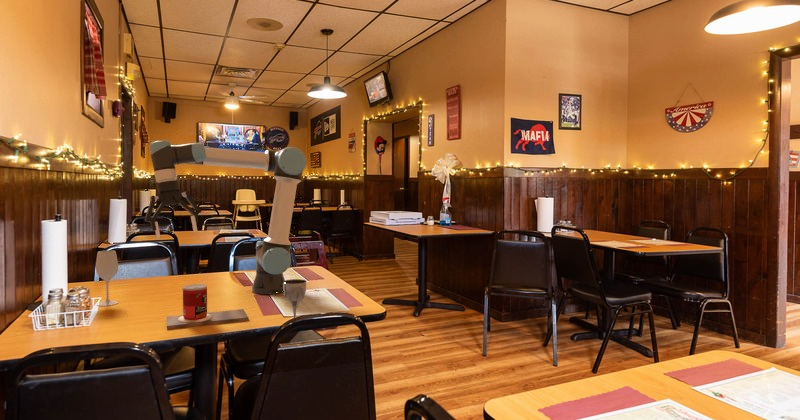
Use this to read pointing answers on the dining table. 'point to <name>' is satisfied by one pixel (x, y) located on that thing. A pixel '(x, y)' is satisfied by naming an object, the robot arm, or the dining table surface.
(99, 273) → the wineglass
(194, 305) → the canned food
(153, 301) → the dining table surface
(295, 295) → the wine glass
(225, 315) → the serving board
